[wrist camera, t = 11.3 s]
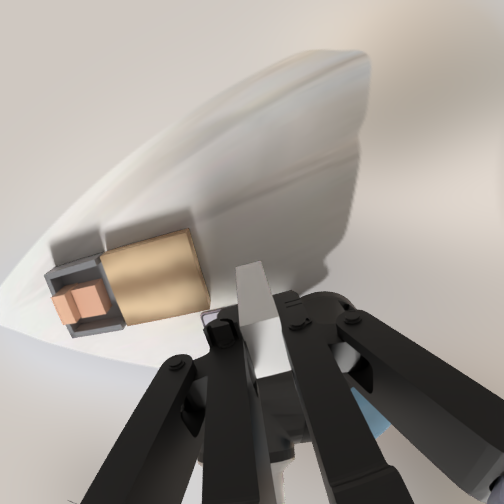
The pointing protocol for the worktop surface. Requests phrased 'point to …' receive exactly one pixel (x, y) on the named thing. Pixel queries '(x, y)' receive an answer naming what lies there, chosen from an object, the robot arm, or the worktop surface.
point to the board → (157, 278)
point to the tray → (81, 273)
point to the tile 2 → (91, 298)
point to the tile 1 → (66, 305)
